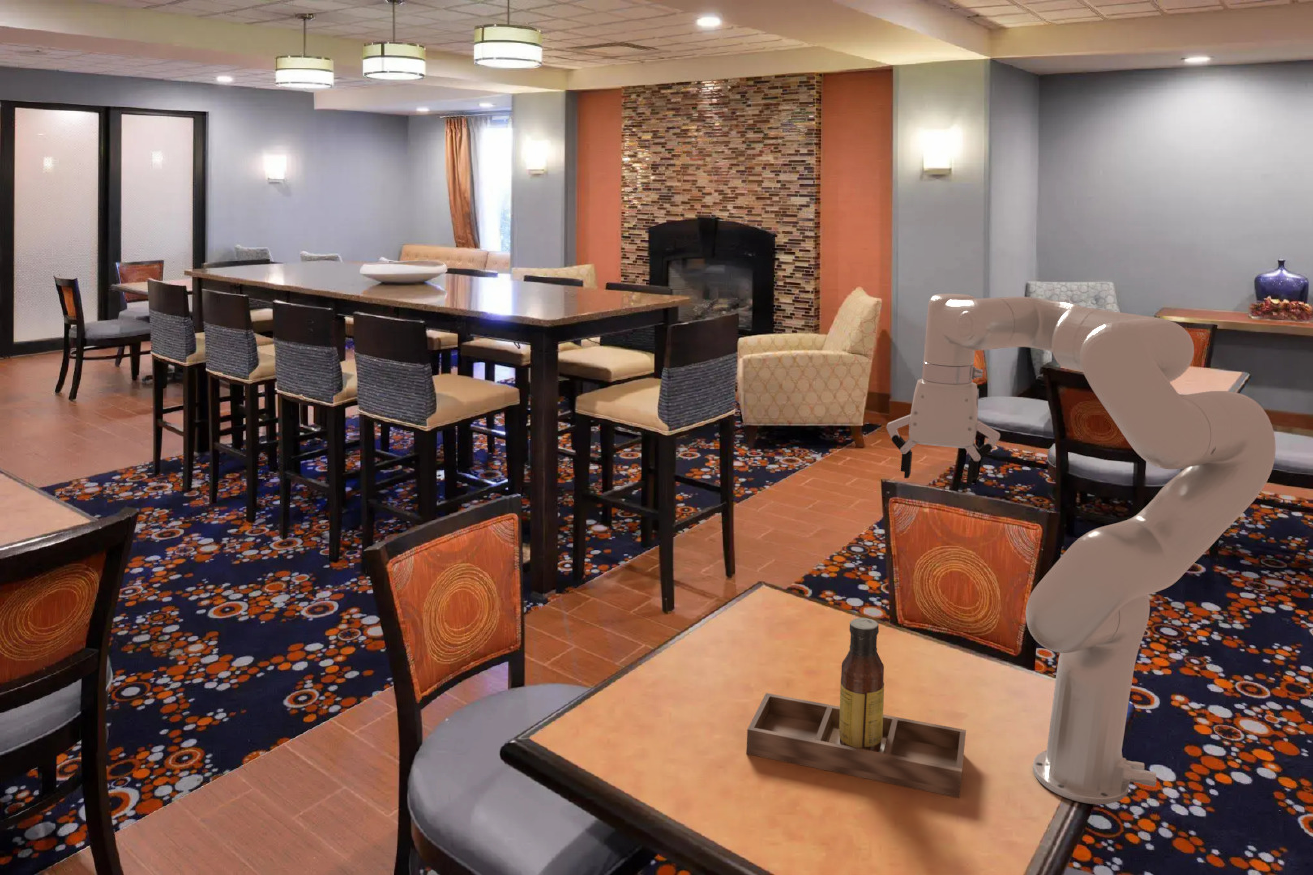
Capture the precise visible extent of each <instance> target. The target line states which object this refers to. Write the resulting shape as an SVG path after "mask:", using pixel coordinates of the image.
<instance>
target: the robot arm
mask: <svg viewBox="0 0 1313 875" xmlns="http://www.w3.org/2000/svg"><path fill="white" fill-rule="evenodd" d="M926 316H927V317H926V330H925V340H924V352H923V353H924V354H923V364H922V374H921V376H922V378H920V379H918V380H917V381H916V385H915V389H914V392H913V398H912V404H911V408H910V413H909V414H908V415H905V416H903V417H899V418H897V419H895V420H892V421H890V422H888V423H887V424H886V426H885V427H886V430H887V433H888V434H889V436H890V439H891V442H892V443H893V444H894V446H895V447H896V448H897V449H898V450H899V452H900V453H901V463H900V472H904V473H903V474H904V477H903V478H904V479H908V478H910V475H911V471H912V470H911V469H912V460H913V459H912V458H913V451H912V448H914V447H915V446H916V445H917V444H918V445H926V446H933V447H934V446H935V447H945V448H956V449H965V450H966V452H967V454H968V455H969V458H968V465H967V466H968V468H967V475H966V476H967V477H966V485H968V486H972V484H973V480H977V479H978V470H979V461H981V459H983V458H984V457H985V456H986V455H987V454H989V453H990V452H991V451H992V450H993V448H994V447H995V445H996V444H997V442H999V440H1000V438H1001V433H1000V432H999V431H997V430H995V429H993V428H991V427H990V426H988V425H987V424H985V423H984V422H982V421H980V420H979V419H978V418H979V417H978V414H979V412H978V411H979V410H978V409H979V395H978V393H979V392H978V385H977V383H975V382H973V380H975V379H979V378H980V379H983V372H984V370H983V369H981V368H978V367H976V366H974V364H975V355H976V354H975V353H976V351H989V350H990V351H991V350H997V349H998V350H999V349H1009V348H1032V349H1038V350H1042V351H1043V350H1044V351H1047V352H1052V355H1053V358H1054V359H1055V360H1056V361H1055V362H1057V364H1058V365H1059V366H1061V367H1062V368H1064V369H1067V370H1071V371H1076V372H1081V373H1083V375H1084V377H1085V379H1086V380H1087V383H1088V384H1089V386H1090V388H1091V390H1092V391H1093V393H1094V394H1095V396H1096V397H1097V399H1098V400H1099V402H1100V404H1102V406H1103V407H1104V409H1105V410H1106V412H1107V413H1108V415H1109V416H1110V417H1111V419H1112V420H1113V422H1114V423H1115V425H1116V426H1117V428H1118V429H1119V431H1120V432H1121V434H1122V435H1123V437H1124V438H1125V440H1126V441H1127V443H1128V444H1129V445H1130V446H1131V448H1132V449H1133V450H1134V452H1136V454H1137V455H1138V456H1139V457H1141V459H1143V460H1144V461H1145V462H1146V463H1148V464H1150V465H1151V466H1153V467H1157V468H1159V469H1164V470H1182V471H1180V472H1179V473H1177V474H1176V476H1174V477H1173V478H1172V479H1171V480H1169V481H1168V482H1167V483H1166V484H1165V485H1164V486H1163V487H1162V488H1161V489H1160V490H1159V491H1158V493H1157V494H1156V495H1155V496H1154V497H1153V499H1151V501H1149V503H1148V504H1147V505H1146V506H1145V507H1144V508H1143V509H1142V510H1140V511H1139V512H1138V513H1137V514H1136V515H1134V516H1133V517H1131V518H1128V519H1127V520H1122V521H1119V522H1116V523H1112V524H1108V525H1107V524H1106V525H1104V526H1100V527H1097V528H1094V529H1092V530H1089V531H1088V532H1086V533H1085V534H1083V535H1082V536H1080V537H1079V538H1077V540H1075V541H1074V542H1073V543H1072V544H1071V545H1070V546H1069V547H1068V548H1067V550H1066V551H1065V552H1064V553H1063V554H1062V555H1061V557H1059V559H1058V560H1057V561H1056V562H1055V563H1054V564H1053V566H1052V567H1051V568H1050V569H1049V571H1048V572H1047V573H1046V574H1045V575H1044V576H1043V578H1042V579H1041V580H1040V581H1039V582H1038V583H1037V585H1036V586H1035V587H1034V588H1033V590H1032V591H1031V593H1030V595H1029V597H1028V600H1027V603H1026V607H1025V620H1026V621H1025V622H1026V625H1027V628H1028V631H1029V633H1030V635H1031V636H1032V637H1033V639H1034V640H1035V642H1037V644H1039V645H1040V646H1041V647H1042V648H1045V649H1047V650H1049V651H1052V652H1054V653H1059V656H1058V660H1057V661H1058V662H1057V668H1056V674H1055V675H1056V676H1055V681H1054V682H1055V683H1054V690H1053V698H1052V704H1051V705H1052V706H1051V713H1050V722H1049V729H1048V730H1049V731H1048V738H1047V739H1048V740H1047V747H1046V750H1044V751H1041V752H1039V753H1038V754H1036V756H1035V757H1034V759H1033V764H1032V771H1033V775H1034V776H1035V778H1036V779H1037V780H1038V781H1039V783H1040V784H1042V785H1043V786H1044V787H1045V788H1046V789H1048V791H1049V790H1050V791H1051V792H1053V793H1054V794H1056V795H1058V796H1061V797H1063V798H1066V799H1067V800H1071V801H1074V802H1078V803H1082V804H1089V805H1109V804H1114V803H1117V802H1119V801H1120V802H1121V801H1123V799H1125V798H1126V797H1127V795H1128V793H1129V788H1130V784H1131V783H1137V784H1140V785H1143V786H1150V787H1154V788H1155V787H1156V786H1157V772H1155V771H1150V770H1146V769H1145V763H1144V762H1140V761H1136V760H1135V761H1131V760H1127V758H1126V757H1123V752H1122V749H1123V743H1124V736H1125V731H1126V730H1125V729H1126V724H1127V722H1126V721H1127V716H1128V715H1127V714H1128V709H1129V701H1130V696H1131V695H1130V694H1131V689H1132V686H1133V685H1132V683H1133V679H1134V678H1133V677H1134V670H1135V665H1136V661H1137V656H1138V653H1139V650H1140V646H1141V644H1142V643H1141V642H1142V640H1143V637H1144V634H1145V632H1146V629H1147V626H1148V623H1149V619H1150V611H1151V610H1150V609H1151V605H1150V604H1151V603H1150V598H1149V595H1151V594H1155V593H1157V592H1160V591H1162V590H1165V589H1167V588H1169V587H1171V586H1172V585H1174V584H1175V583H1176V582H1178V580H1180V579H1181V578H1182V577H1183V575H1184V574H1185V573H1186V572H1187V571H1188V570H1189V569H1190V568H1191V567H1192V566H1193V565H1194V564H1195V562H1197V561H1198V560H1199V559H1200V558H1201V557H1202V556H1203V554H1204V553H1206V552H1207V551H1208V550H1209V549H1210V548H1211V547H1212V546H1213V544H1215V542H1216V541H1217V540H1219V538H1220V537H1221V536H1222V534H1223V533H1224V532H1226V530H1227V529H1228V528H1229V527H1230V526H1231V525H1232V524H1233V523H1234V522H1235V521H1236V520H1238V519H1239V517H1240V516H1241V515H1242V514H1243V513H1244V512H1245V511H1246V510H1247V509H1248V508H1249V507H1250V506H1251V504H1252V503H1254V501H1255V500H1256V499H1257V497H1258V496H1259V495H1260V493H1261V492H1262V491H1263V489H1264V487H1265V485H1267V482H1268V479H1269V478H1270V475H1271V474H1272V471H1273V469H1274V468H1273V467H1274V464H1275V459H1276V438H1275V432H1274V431H1275V430H1274V428H1273V424H1272V423H1271V422H1272V421H1271V420H1270V418H1269V415H1268V414H1267V413H1266V411H1265V409H1264V408H1263V407H1262V406H1261V405H1260V404H1259V403H1258V402H1257V401H1256V400H1254V399H1253V398H1251V397H1250V396H1247V395H1246V394H1242V393H1239V392H1235V391H1230V390H1229V391H1227V390H1210V391H1202V392H1196V393H1189V394H1183V395H1180V394H1179V393H1178V391H1177V390H1176V388H1175V387H1174V386H1173V384H1172V383H1171V382H1173V381H1175V380H1176V379H1178V378H1180V377H1181V376H1183V374H1184V373H1185V372H1186V371H1187V370H1188V369H1189V367H1190V366H1191V364H1192V361H1193V359H1194V355H1195V345H1194V342H1193V339H1192V337H1191V335H1190V333H1189V332H1188V331H1187V329H1185V328H1184V327H1183V326H1181V325H1180V324H1178V323H1177V322H1174V321H1171V320H1168V319H1165V318H1160V317H1155V316H1147V315H1141V314H1134V313H1128V312H1127V313H1126V312H1119V311H1114V310H1113V311H1112V310H1105V309H1101V308H1100V309H1099V308H1092V307H1087V306H1086V307H1085V306H1081V305H1077V304H1074V303H1071V302H1066V301H1060V300H1053V299H1046V298H1039V297H1032V296H1031V297H1030V296H1004V297H1003V296H1002V297H990V298H989V297H987V298H976V297H975V296H972V295H971V294H970V295H969V294H963V293H938V294H934V295H932V296H931V298H930V299H929V301H928V305H927V315H926ZM907 425H908V426H909V427H908V439H906V440H905V439H904V438H903V437H902V436H901V435H900V433H899V431H898V429H900V428H903V427H905V426H907ZM977 432H979V433H980V434H983V435H984V436H986V437H987V438H988V439H987V441H986V442H985V443H984V444H982V445H981V446H979V447H978V446H977V445H976V443H975V440H976V436H977Z"/></svg>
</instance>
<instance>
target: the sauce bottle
mask: <svg viewBox="0 0 1313 875" xmlns="http://www.w3.org/2000/svg"><path fill="white" fill-rule="evenodd" d="M879 626H880V625H879V623H878V622H877V620H874V619H871V618H869V617H868V618H867V617H857V618H853V619H852V620H850V621H849V633H850V645H849V651H847V652H848V653H847V654H846V655H845V658H844V659H843V661H842V663H841V671H840V672H841V674H840V676H841V677H840V689H839V690H840V691H839V692H840V693H839V707H840V725H839V736H840V744H841V745H844V746H849V747H855V748H860V749H865V750H870V751H875V752H879V751H880V747H881V740H882V730H883V715H884V705H885V704H884V703H885V702H884V701H885V700H884V698H885V682H884V674H885V665H884V664H883V662H882V660H881V659H882V658H881V657H880V655H879V653H878V648H877V643H878V639H877V638H878V634H879V632H880V631H879Z"/></svg>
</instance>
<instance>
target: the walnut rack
mask: <svg viewBox="0 0 1313 875" xmlns="http://www.w3.org/2000/svg"><path fill="white" fill-rule="evenodd" d="M839 725H840V705H838V706H837V705H834V704H833V705H832V704H828V703H827V704H826V703H823V702H817V701H811V700H806V699H802V698H801V699H800V698H796V697H795V698H794V697H789V696H785V695H784V696H783V695H778V694H773V693H768V692H765V694H764V696H763V698H762V700H761V702H760V703H759V706H758V708H757V710H756V711H755V713H754V715H753V718H752V720H751V721H750V724H749V725H748V727H747V730H746V731H747V732H746V755H751V756H756V757H761V758H766V759H769V760H770V759H771V760H776V761H780V762H784V763H788V764H789V763H790V764H795V765H800V766H805V767H808V768H814V769H819V770H824V771H829V772H833V773H837V774H843V775H849V776H853V777H858V778H862V779H867V780H873V781H877V782H881V783H886V784H891V785H896V786H900V787H907V788H910V789H915V790H921V791H926V792H930V793H936V794H941V795H944V796H949V797H954V798H960V795H961V794H960V793H961V785H962V775H963V765H964V764H963V763H964V755H965V745H966V744H965V743H966V736H967V730H966V729H964V728H963V729H962V728H957V727H953V726H946V725H941V724H937V723H932V722H931V723H930V722H927V721H926V722H924V721H919V720H915V719H909V718H904V717H898V716H893V715H887V714H883V730H882V740H881V747H880V751H879V752H875V751H870V750H865V749H860V748H855V747H849V746H844V745H841V744H840V736H839Z"/></svg>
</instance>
